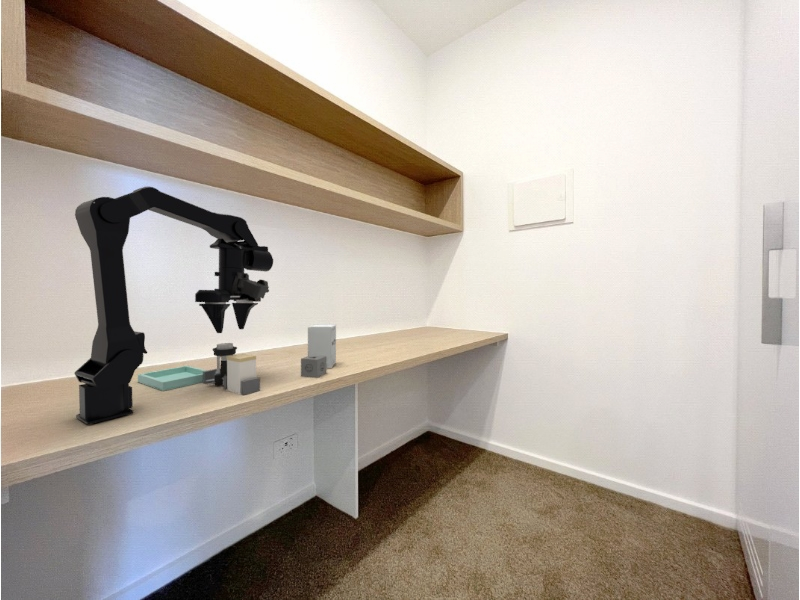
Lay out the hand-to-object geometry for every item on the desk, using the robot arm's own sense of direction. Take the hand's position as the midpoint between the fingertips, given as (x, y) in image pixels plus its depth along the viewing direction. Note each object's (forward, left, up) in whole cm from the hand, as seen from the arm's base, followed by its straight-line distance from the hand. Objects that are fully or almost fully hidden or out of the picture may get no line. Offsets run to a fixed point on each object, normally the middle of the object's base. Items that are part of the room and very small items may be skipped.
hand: (231, 331), depth 82 cm
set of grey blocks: (-2, -3, -13) cm, 13 cm away
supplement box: (+26, -5, -13) cm, 30 cm away
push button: (-2, +1, -13) cm, 14 cm away
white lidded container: (-2, -7, -13) cm, 15 cm away
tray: (-6, +14, -13) cm, 20 cm away
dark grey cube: (+17, -11, -13) cm, 24 cm away
